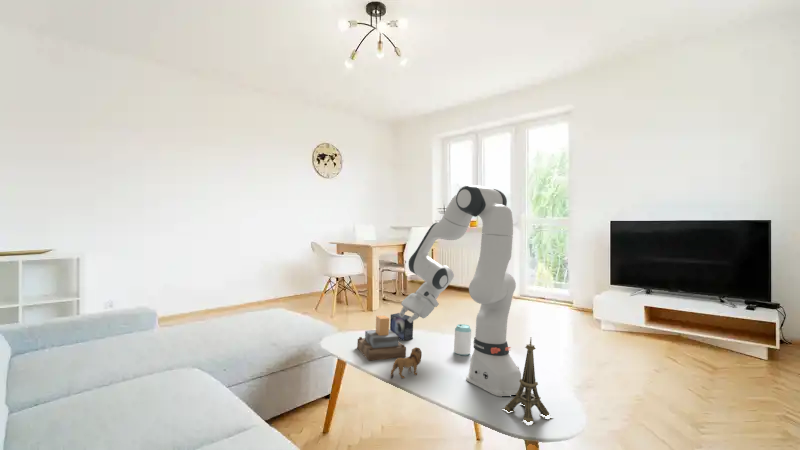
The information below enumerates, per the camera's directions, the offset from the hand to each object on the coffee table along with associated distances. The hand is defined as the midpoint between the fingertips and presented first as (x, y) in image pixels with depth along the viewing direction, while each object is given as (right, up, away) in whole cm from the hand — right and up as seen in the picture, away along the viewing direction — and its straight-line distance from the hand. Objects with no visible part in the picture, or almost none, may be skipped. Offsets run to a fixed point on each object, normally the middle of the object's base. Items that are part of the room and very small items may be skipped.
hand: (404, 318), depth 167 cm
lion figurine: (0, -14, -26) cm, 30 cm away
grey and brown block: (-10, -13, -4) cm, 17 cm away
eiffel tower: (+36, -16, -51) cm, 65 cm away
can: (+25, -15, 0) cm, 29 cm away
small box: (-1, -14, +19) cm, 24 cm away
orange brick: (-10, -5, -4) cm, 12 cm away
